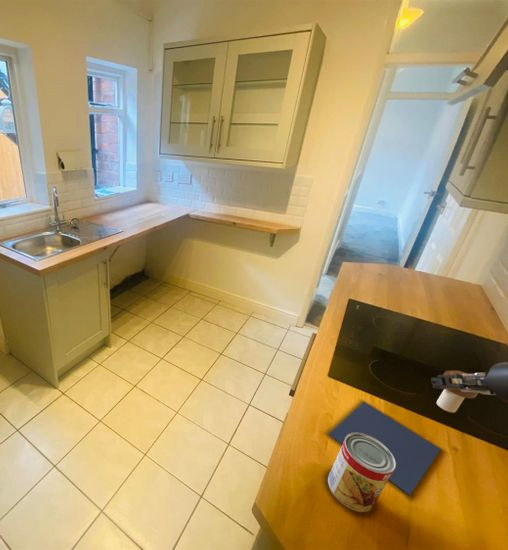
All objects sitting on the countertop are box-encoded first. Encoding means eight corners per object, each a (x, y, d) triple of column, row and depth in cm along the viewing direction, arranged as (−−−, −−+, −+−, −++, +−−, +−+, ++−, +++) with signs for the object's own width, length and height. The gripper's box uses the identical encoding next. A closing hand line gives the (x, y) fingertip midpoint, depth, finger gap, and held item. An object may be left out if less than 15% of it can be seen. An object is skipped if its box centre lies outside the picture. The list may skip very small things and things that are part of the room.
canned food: (380, 518, 57) (404, 478, 52) (333, 504, 59) (352, 465, 53) (364, 476, 64) (385, 438, 58) (323, 466, 65) (339, 428, 60)
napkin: (363, 402, 81) (364, 401, 81) (440, 450, 69) (440, 449, 69) (328, 434, 72) (328, 433, 72) (409, 495, 60) (409, 495, 60)
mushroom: (434, 392, 70) (450, 364, 66) (467, 409, 65) (486, 380, 62) (425, 403, 67) (442, 374, 63) (459, 421, 62) (479, 391, 59)
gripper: (579, 364, 51) (479, 369, 66) (485, 357, 52) (409, 363, 68) (598, 413, 48) (489, 406, 64) (499, 404, 49) (417, 399, 65)
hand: (449, 384), depth 66 cm, fingers closed on mushroom, 5 cm apart
